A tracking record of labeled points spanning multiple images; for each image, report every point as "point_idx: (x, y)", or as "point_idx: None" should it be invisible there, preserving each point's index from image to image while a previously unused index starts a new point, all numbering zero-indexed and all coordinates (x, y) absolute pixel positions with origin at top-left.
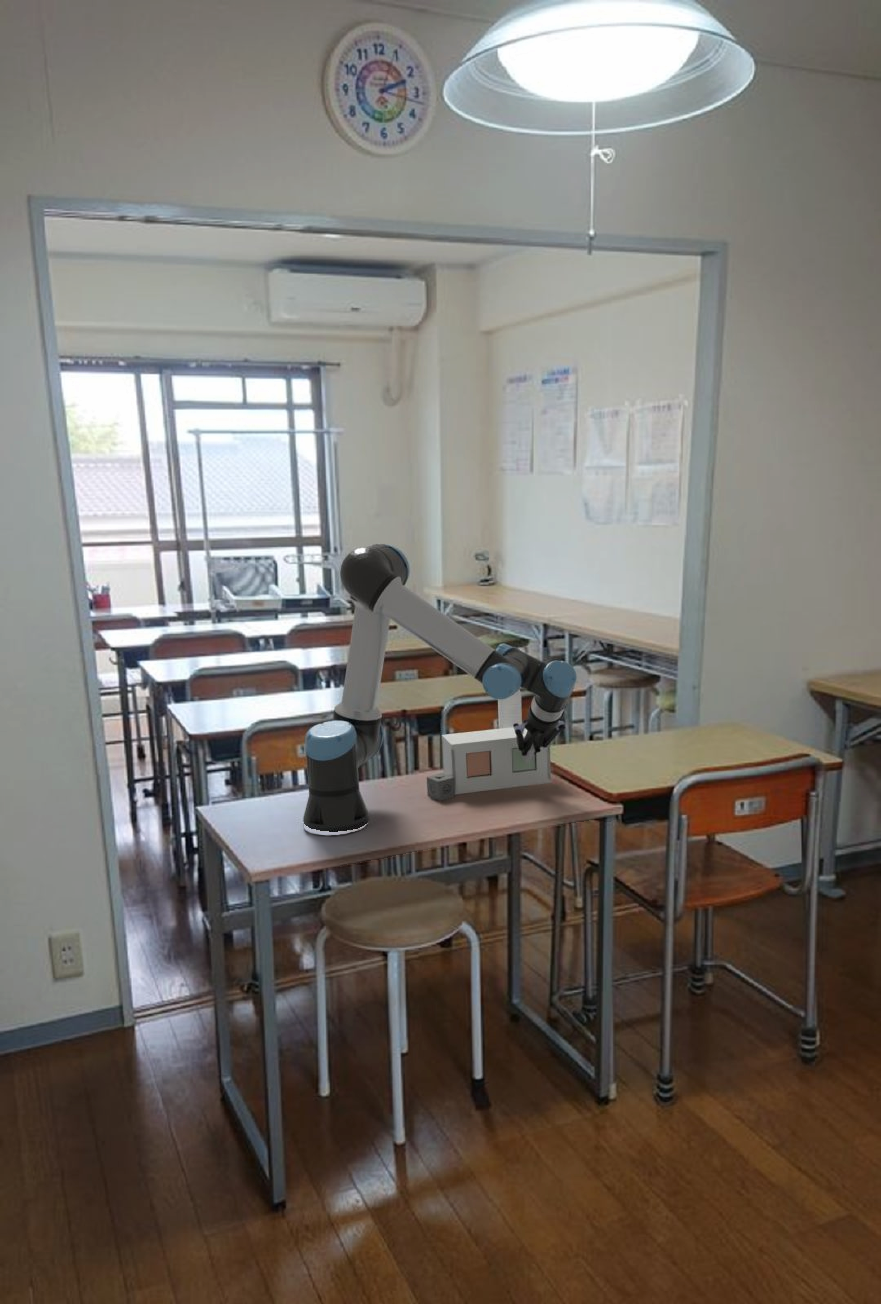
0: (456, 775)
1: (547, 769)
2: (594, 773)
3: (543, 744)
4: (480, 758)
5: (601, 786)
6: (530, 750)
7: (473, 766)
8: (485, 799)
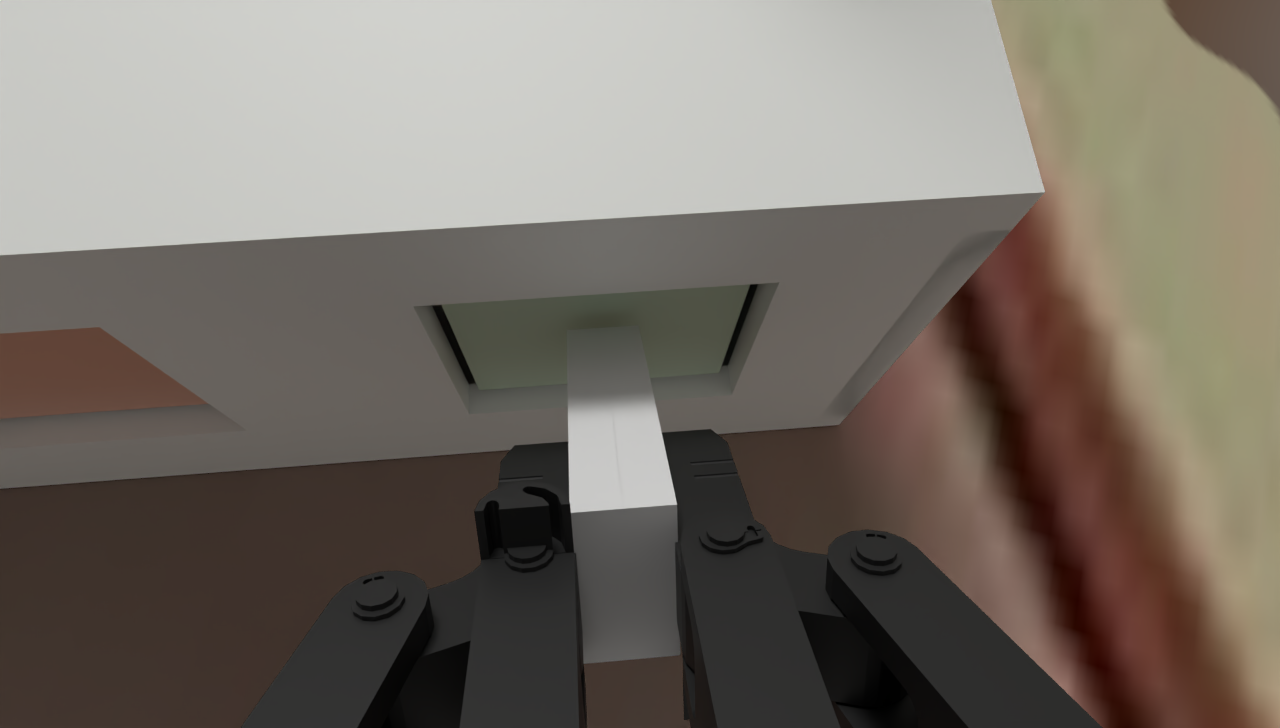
0: None
1: (841, 389)
2: (1236, 302)
3: (842, 722)
4: (14, 343)
5: (1269, 660)
6: (602, 652)
7: None
8: (135, 720)
